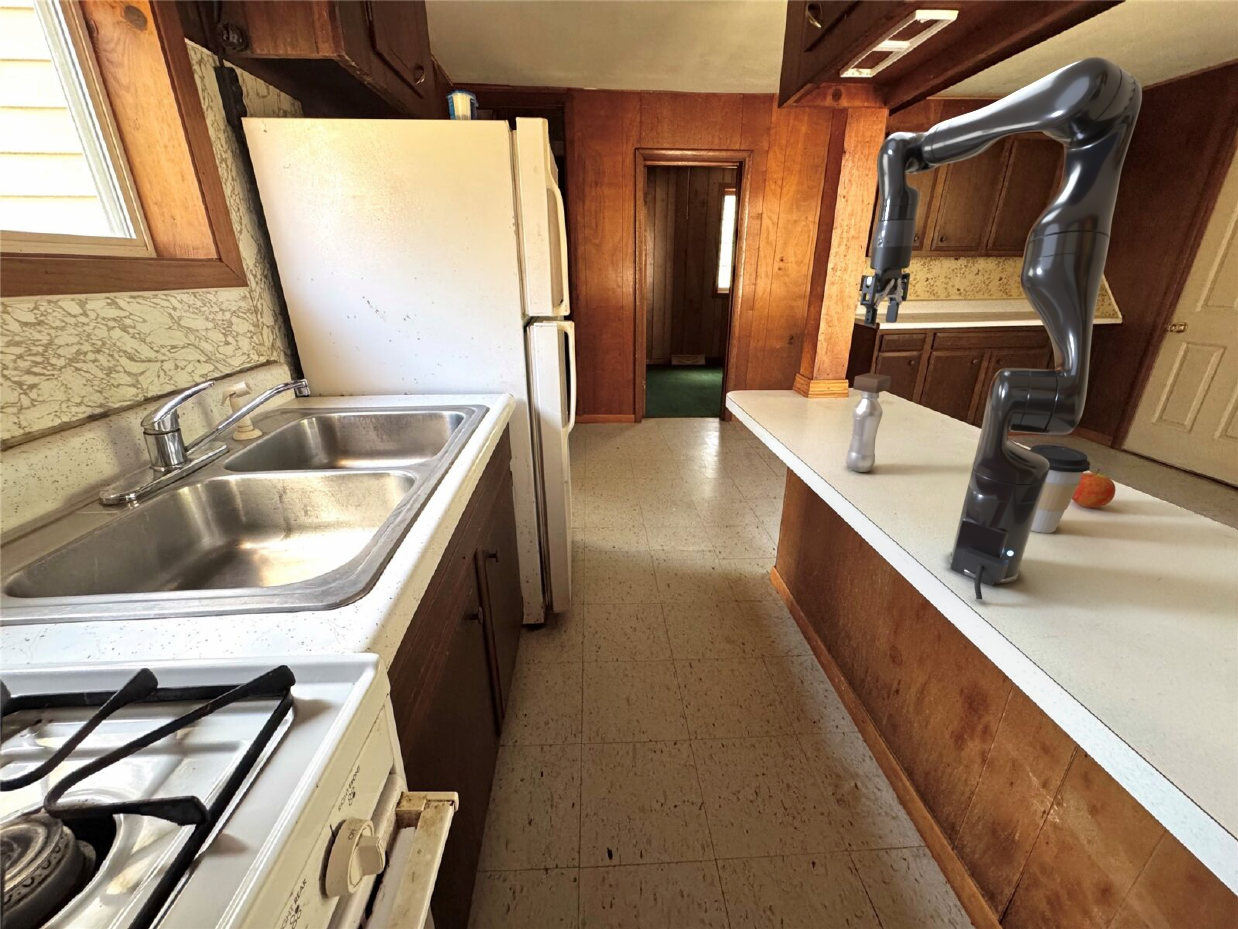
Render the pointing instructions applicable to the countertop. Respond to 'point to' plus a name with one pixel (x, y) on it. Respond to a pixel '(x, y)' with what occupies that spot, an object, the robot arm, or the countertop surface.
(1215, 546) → the countertop surface
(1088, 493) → the fruit
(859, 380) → the walnut block
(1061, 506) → the coffee cup
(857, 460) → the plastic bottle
